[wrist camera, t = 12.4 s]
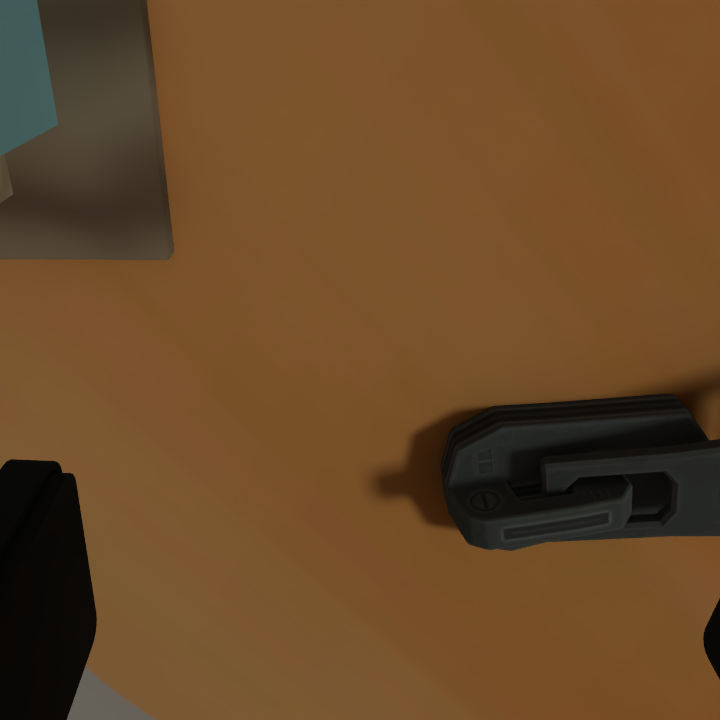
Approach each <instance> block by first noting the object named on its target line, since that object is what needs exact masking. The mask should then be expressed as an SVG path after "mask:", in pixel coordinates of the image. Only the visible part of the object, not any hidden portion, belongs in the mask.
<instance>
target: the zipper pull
mask: <svg viewBox="0 0 720 720" xmlns="http://www.w3.org/2000/svg"><path fill="white" fill-rule="evenodd" d="M441 472H442V480H443V487H444V494H445V498H446V502H447V506H448V510H449V514H450V516H451V517H452V519H453V520H454V522H455V524H456V525H457V527H458V529H459V530H460V532H461V534H462V535H463V537H464V539H465V540H466V542H467V543H468V544H469V545H473V546H476V547H480V548H484V549H488V550H493V549H502V550H509V551H512V550H517V549H521V548H525V547H529V546H532V545H536V544H540V543H544V542H557V541H578V540H600V539H621V538H642V537H663V536H720V439H718V440H711V441H709V439H708V438H707V436H706V435H705V433H704V432H703V430H702V429H701V427H700V426H699V424H698V423H697V422H696V420H695V419H694V417H693V416H692V414H691V413H690V412H689V411H688V410H687V409H686V407H685V406H684V405H683V404H682V403H681V402H680V401H679V399H678V398H677V397H676V396H675V395H674V394H657V395H644V396H631V397H618V398H605V399H592V400H579V401H566V402H553V403H538V404H521V405H504V406H493V407H491V408H489V409H487V410H486V411H484V412H482V413H480V414H478V415H476V416H474V417H472V418H471V419H469V420H467V421H465V422H463V423H461V424H459V425H457V426H456V427H454V428H452V429H451V431H450V433H449V437H448V441H447V444H446V448H445V452H444V455H443V459H442V463H441Z"/></svg>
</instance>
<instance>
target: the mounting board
mask: <svg viewBox="0 0 720 720" xmlns="http://www.w3.org/2000/svg"><path fill="white" fill-rule="evenodd" d="M37 4H38V9H39V15H40V21H41V27H42V33H43V39H44V45H45V50H46V56H47V62H48V68H49V74H50V80H51V86H52V92H53V97H54V103H55V109H56V115H57V121H58V125H57V126H55V127H53V128H51V129H49V130H48V131H46V132H44V133H42V134H40V135H38V136H36V137H35V138H33V139H31V140H29V141H27V142H25V143H23V144H22V145H20V146H18V147H16V148H14V149H12V150H10V151H9V152H7V153H5V154H3V155H1V156H0V259H109V260H169V259H170V257H171V255H172V254H173V252H174V247H173V238H172V229H171V220H170V211H169V202H168V192H167V183H166V174H165V165H164V156H163V147H162V138H161V129H160V119H159V110H158V101H157V92H156V83H155V74H154V65H153V55H152V46H151V37H150V28H149V19H148V10H147V1H146V0H37Z"/></svg>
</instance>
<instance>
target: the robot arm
mask: <svg viewBox="0 0 720 720" xmlns="http://www.w3.org/2000/svg"><path fill="white" fill-rule="evenodd" d="M96 622H97V617H96V609H95V602H94V596H93V589H92V583H91V576H90V569H89V563H88V556H87V550H86V543H85V537H84V530H83V524H82V517H81V511H80V504H79V498H78V491H77V485H76V480H75V477H74V475H73V474H71V473H62V470H61V466H60V465H59V463H58V462H55V461H38V460H13V459H11V460H9V461H7V462H6V463H5V464H4V465H3V466H2V468H1V469H0V720H67V717H68V714H69V711H70V708H71V705H72V703H73V699H74V697H75V694H76V691H77V688H78V685H79V682H80V680H81V677H82V674H83V671H84V668H85V665H86V662H87V659H88V657H89V654H90V651H91V648H92V645H93V642H94V637H95V633H96ZM703 640H704V648H705V652H706V654H707V657H708V659H709V661H710V662H711V664H712V666H713V668H714V670H715V672H716V673H717V675H718V677H719V679H720V599H719V601H718V603H717V605H716V607H715V609H714V611H713V613H712V616H711V618H710V620H709V622H708V624H707V626H706V628H705V631H704V638H703Z"/></svg>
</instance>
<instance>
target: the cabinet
mask: <svg viewBox="0 0 720 720" xmlns="http://www.w3.org/2000/svg"><path fill="white" fill-rule="evenodd" d="M57 125H58V121H57V115H56V109H55V103H54V97H53V92H52V86H51V80H50V74H49V68H48V62H47V56H46V50H45V45H44V39H43V33H42V27H41V21H40V15H39V9H38V4H37V0H0V156H1V155H3V154H5V153H7V152H9V151H10V150H12V149H14V148H16V147H18V146H20V145H22V144H23V143H25V142H27V141H29V140H31V139H33V138H35V137H36V136H38V135H40V134H42V133H44V132H46V131H48V130H49V129H51V128H53V127H55V126H57Z"/></svg>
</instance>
